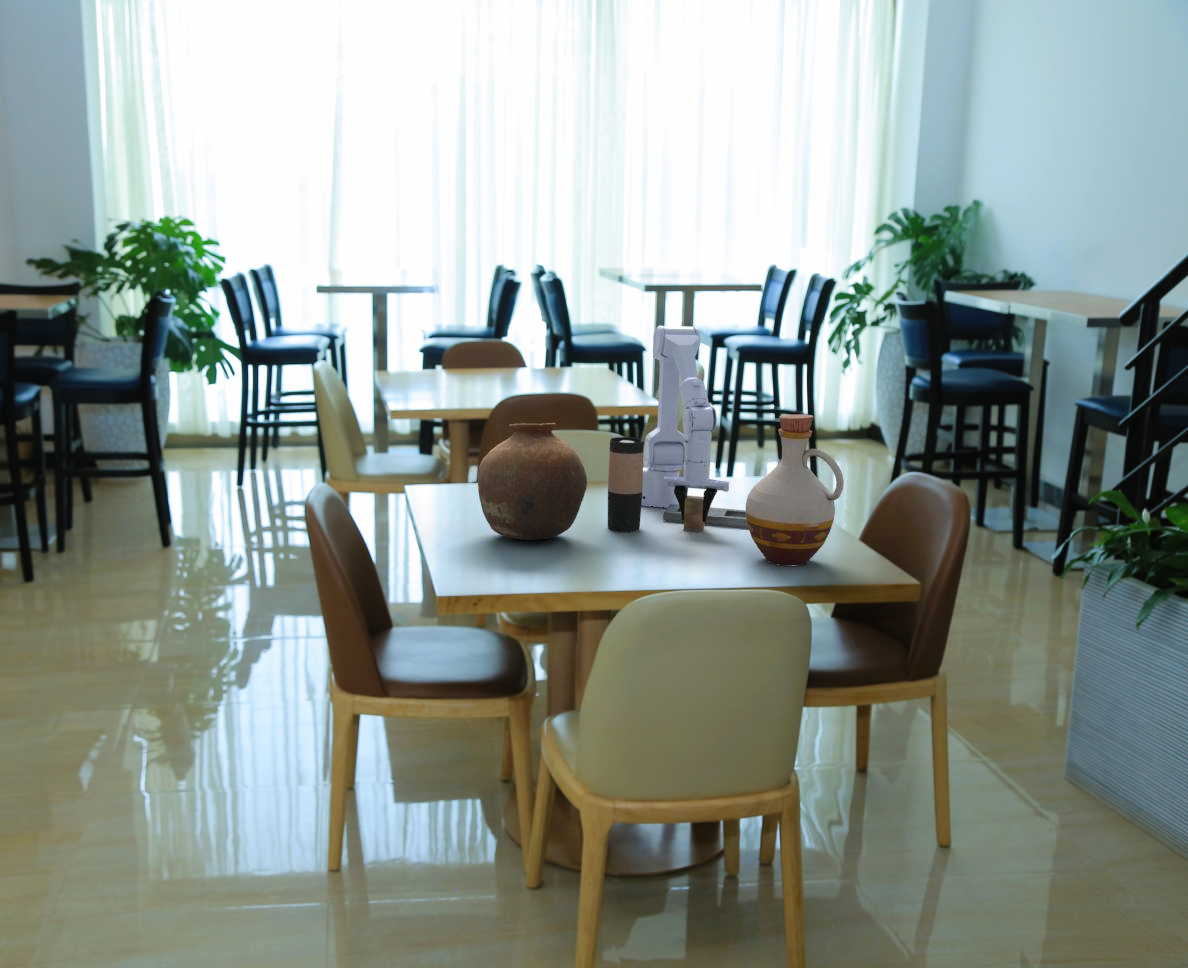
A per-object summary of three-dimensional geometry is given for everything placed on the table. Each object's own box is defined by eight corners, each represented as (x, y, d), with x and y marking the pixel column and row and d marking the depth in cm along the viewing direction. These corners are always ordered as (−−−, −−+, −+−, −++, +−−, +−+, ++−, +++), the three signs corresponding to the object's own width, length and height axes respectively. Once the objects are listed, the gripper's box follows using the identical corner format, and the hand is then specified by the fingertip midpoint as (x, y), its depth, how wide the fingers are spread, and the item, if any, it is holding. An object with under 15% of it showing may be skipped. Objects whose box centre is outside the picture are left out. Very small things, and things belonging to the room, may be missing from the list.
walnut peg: (683, 529, 264) (685, 499, 263) (686, 525, 268) (687, 495, 266) (701, 531, 263) (703, 500, 262) (704, 527, 267) (705, 497, 265)
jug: (851, 560, 244) (862, 415, 238) (821, 579, 229) (832, 426, 223) (762, 545, 254) (771, 405, 247) (728, 563, 239) (736, 415, 232)
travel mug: (600, 529, 262) (603, 440, 258) (615, 522, 269) (619, 435, 265) (631, 534, 259) (635, 444, 255) (646, 527, 266) (650, 439, 262)
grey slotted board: (663, 520, 272) (663, 512, 272) (669, 512, 281) (670, 504, 281) (759, 529, 268) (759, 520, 267) (763, 520, 276) (763, 511, 276)
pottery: (538, 557, 238) (541, 434, 233) (454, 537, 251) (455, 420, 246) (606, 537, 256) (610, 422, 251) (524, 519, 269) (526, 410, 264)
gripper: (661, 461, 260) (659, 521, 263) (727, 466, 257) (724, 527, 260) (667, 455, 267) (664, 514, 270) (731, 460, 264) (728, 519, 266)
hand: (694, 520), depth 265 cm, fingers closed on walnut peg, 4 cm apart
